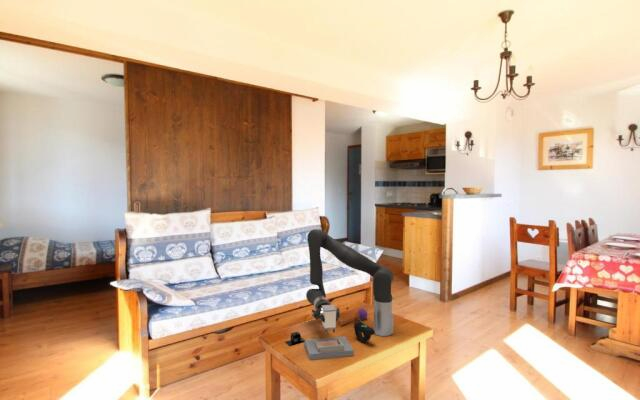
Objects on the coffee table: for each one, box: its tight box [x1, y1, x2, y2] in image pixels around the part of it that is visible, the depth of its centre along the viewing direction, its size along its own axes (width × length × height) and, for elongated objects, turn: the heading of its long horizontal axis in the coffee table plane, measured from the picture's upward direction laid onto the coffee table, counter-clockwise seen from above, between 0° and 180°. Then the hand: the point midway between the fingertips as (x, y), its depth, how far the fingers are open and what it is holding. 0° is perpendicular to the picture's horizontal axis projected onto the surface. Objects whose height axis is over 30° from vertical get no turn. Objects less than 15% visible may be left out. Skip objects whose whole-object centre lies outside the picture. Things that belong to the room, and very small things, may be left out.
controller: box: [353, 319, 375, 343], centre depth 164 cm, size 4×12×10 cm, turn 35°
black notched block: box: [284, 331, 306, 347], centre depth 164 cm, size 12×7×5 cm, turn 123°
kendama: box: [336, 308, 368, 327], centre depth 189 cm, size 6×6×20 cm
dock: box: [304, 336, 355, 361], centre depth 156 cm, size 20×14×5 cm
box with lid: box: [321, 304, 337, 334], centre depth 154 cm, size 5×6×11 cm
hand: (330, 319), depth 152 cm, fingers closed on box with lid, 5 cm apart
